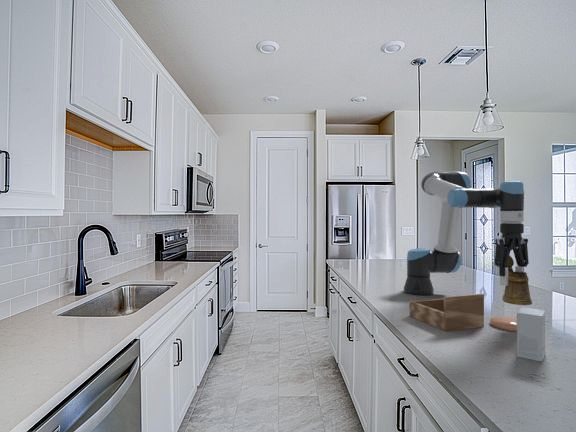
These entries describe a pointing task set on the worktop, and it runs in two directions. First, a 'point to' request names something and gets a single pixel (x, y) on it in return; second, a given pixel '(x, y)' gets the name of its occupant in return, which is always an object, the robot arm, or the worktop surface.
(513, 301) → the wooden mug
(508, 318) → the peach round disc
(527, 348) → the small box
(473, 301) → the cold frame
